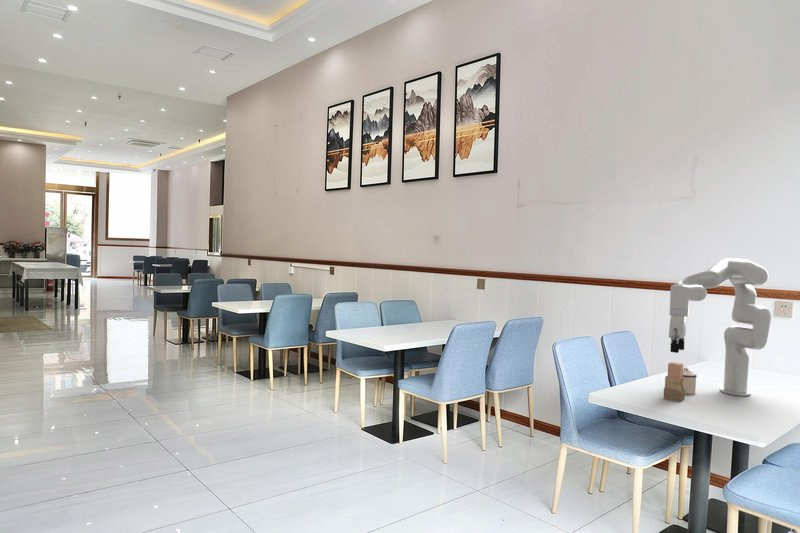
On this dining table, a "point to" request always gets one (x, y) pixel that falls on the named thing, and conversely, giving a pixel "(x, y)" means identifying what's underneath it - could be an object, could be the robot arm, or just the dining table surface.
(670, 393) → the tower base
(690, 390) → the teacup with lid
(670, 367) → the terracotta block
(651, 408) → the dining table surface
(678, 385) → the block
